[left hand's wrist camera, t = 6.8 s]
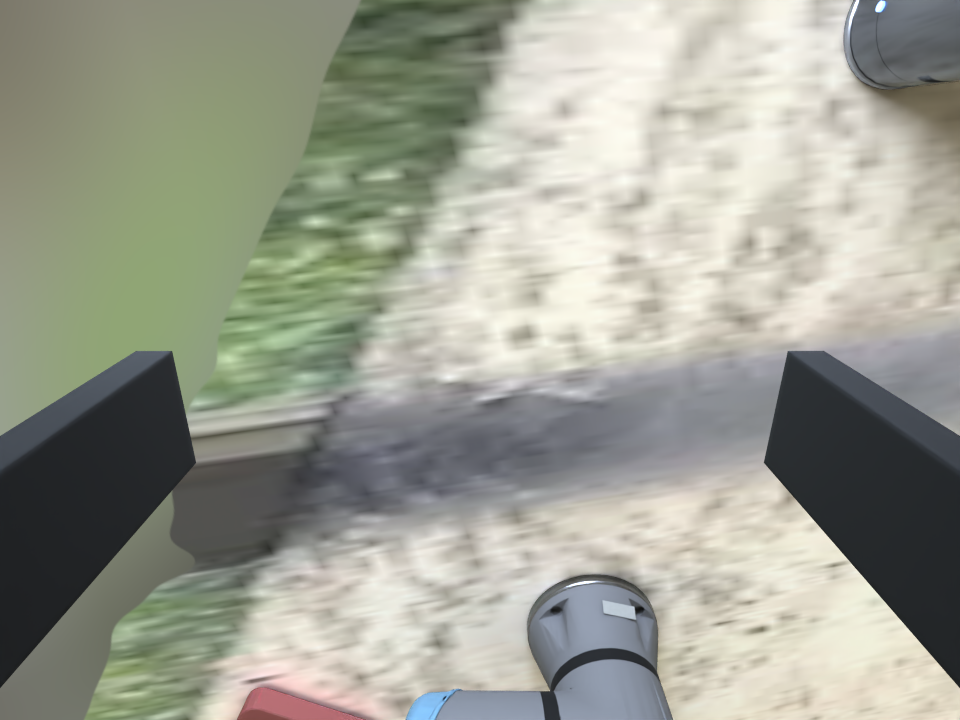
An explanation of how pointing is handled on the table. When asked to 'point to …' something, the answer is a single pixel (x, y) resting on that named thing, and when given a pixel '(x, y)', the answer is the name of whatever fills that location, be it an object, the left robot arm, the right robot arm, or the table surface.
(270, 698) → the plaque
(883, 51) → the right robot arm
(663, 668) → the table surface
